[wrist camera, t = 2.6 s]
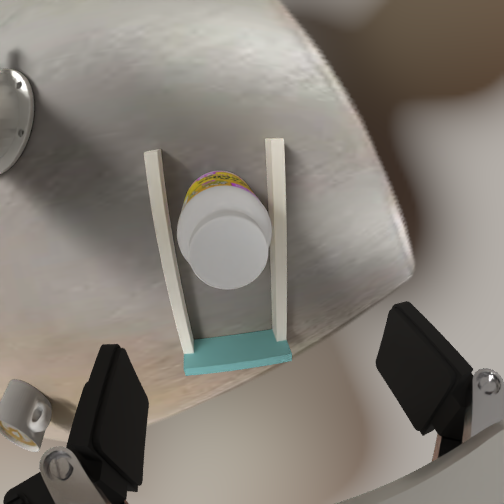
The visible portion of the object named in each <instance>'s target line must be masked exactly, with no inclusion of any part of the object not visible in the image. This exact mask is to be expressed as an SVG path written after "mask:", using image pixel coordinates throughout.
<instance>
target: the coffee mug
mask: <svg viewBox="0 0 504 504" xmlns="http://www.w3.org/2000/svg"><path fill="white" fill-rule="evenodd" d="M51 411H52V406H51V403H50V402H49V400H48V399H47V398H46V397H45V396H44V395H43V394H42V393H41V392H40V391H39V390H37V389H36V388H35V387H33V386H32V385H30V384H28V383H26V382H24V381H21V380H17V379H14V380H11V381H10V382H9V384H8V386H7V388H6V391H5V393H4V395H3V397H2V399H1V401H0V433H1V434H2V435H3V436H4V437H6V438H7V439H8V440H10V441H11V442H13V443H14V444H16V445H18V446H20V447H21V448H24V449H26V450H29V451H33V452H38V451H39V450H40V447H41V443H42V440H43V436H44V433H45V430H46V428H47V427H48V425H49V423H50V420H51V416H52V412H51Z"/></svg>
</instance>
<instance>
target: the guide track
mask: <svg viewBox="0 0 504 504" xmlns="http://www.w3.org/2000/svg"><path fill="white" fill-rule="evenodd" d="M265 149H266V169H267V190H268V213H269V217H270V221H271V226H272V237H271V242H270V268H271V301H272V329H270V330H263V331H257V332H250V333H243V334H236V335H229V336H221V337H213V338H204V339H195V340H194V339H193V334H192V330H191V326H190V321H189V317H188V312H187V308H186V303H185V299H184V294H183V289H182V284H181V279H180V274H179V268H178V263H177V258H176V252H175V246H174V240H173V235H172V228H171V222H170V216H169V209H168V202H167V195H166V187H165V180H164V171H163V163H162V154H161V149H157V150H151V151H147V152H144V159H145V168H146V175H147V183H148V190H149V196H150V203H151V209H152V215H153V221H154V227H155V232H156V238H157V243H158V248H159V253H160V258H161V263H162V268H163V273H164V277H165V282H166V286H167V290H168V295H169V299H170V303H171V307H172V311H173V315H174V319H175V323H176V327H177V330H178V334H179V338H180V341H181V345H182V349H183V352H184V371H185V374H186V376H188V375H199V374H208V373H217V372H225V371H233V370H240V369H247V368H253V367H260V366H266V365H272V364H277V363H283V362H288V361H292V353H291V350H290V348H289V345H288V343H287V340H286V332H287V224H286V182H285V153H284V139H283V138H265Z"/></svg>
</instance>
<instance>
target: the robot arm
mask: <svg viewBox="0 0 504 504" xmlns="http://www.w3.org/2000/svg"><path fill="white" fill-rule="evenodd" d="M33 117H34V98H33V92H32V88H31V85H30V83H29V81H28V80H27V78H26V77H25V76H24V75H23V74H22V73H20V72H19V71H17V70H12V69H1V70H0V174H2V173H4V172H5V171H7V170H9V169H10V168H11V167H12V166H13V165H14V164H15V163H16V161H17V160H18V158H19V157H20V156H21V154H22V152H23V150H24V148H25V146H26V144H27V141H28V139H29V136H30V132H31V128H32V124H33ZM376 367H377V369H378V371H379V372H380V373H381V375H382V377H383V378H384V380H385V381H386V383H387V385H388V386H389V388H390V389H391V391H392V392H393V394H394V396H395V397H396V398H397V400H398V402H399V404H400V405H401V407H402V408H403V410H404V412H405V413H406V415H407V416H408V418H409V420H410V421H411V423H412V425H413V426H414V428H415V429H416V430H417V431H420V432H421V434H422V435H425V434H427V433H429V432H431V431H433V430H434V429H435V430H436V431H437V439H436V444H435V449H434V454H433V458H432V462H431V463H429V464H427V465H425V466H424V467H422V468H420V469H418V470H416V471H414V472H412V473H410V474H408V475H406V476H404V477H402V478H400V479H398V480H395V481H393V482H391V483H389V484H386V485H384V486H382V487H379V488H377V489H375V490H372V491H369V492H367V493H364V494H361V495H359V496H356V497H353V498H350V499H347V500H344V501H341V502H338V503H335V504H504V382H503V379H502V378H501V376H500V375H499V374H498V373H497V372H495V371H494V370H491V369H484V368H483V369H480V370H478V371H477V372H475V374H474V376H473V375H472V374H471V372H472V371H473V368H472V367H471V366H470V365H469V364H468V363H467V361H466V360H465V359H464V358H463V357H462V356H461V355H460V354H459V353H458V351H456V349H455V348H454V347H453V346H452V345H451V344H450V343H449V342H448V341H447V340H446V339H445V338H444V337H443V335H441V333H440V332H439V331H438V330H437V329H436V328H435V327H434V326H433V325H432V324H431V323H430V322H429V321H428V320H427V319H426V318H425V317H424V316H423V315H422V314H421V313H420V312H419V311H418V310H417V309H416V308H415V307H414V306H413V305H412V304H411V303H410V302H407V301H406V302H402V303H399V304H395V305H394V306H393V307H392V309H391V310H390V311H389V314H388V318H387V322H386V326H385V330H384V334H383V338H382V341H381V345H380V349H379V352H378V356H377V359H376ZM148 408H149V402H148V398H147V395H146V393H145V391H144V389H143V387H142V385H141V383H140V381H139V379H138V377H137V375H136V373H135V370H134V368H133V366H132V364H131V362H130V359H129V357H128V355H127V352H126V350H125V349H124V348H121V347H120V346H119V345H118V344H106V345H102V346H101V347H100V350H99V353H98V356H97V358H96V361H95V364H94V367H93V370H92V372H91V375H90V378H89V381H88V382H87V383H86V384H85V386H84V388H83V391H82V394H81V397H80V401H79V404H78V407H77V410H76V414H75V417H74V421H73V424H72V428H71V431H70V435H69V439H68V443H67V447H66V448H65V447H53V448H50V449H49V450H47V451H46V452H45V453H44V454H43V456H42V457H41V460H40V468H39V469H40V472H39V473H38V474H36V475H34V476H32V477H31V478H29V479H27V480H26V481H24V482H23V483H21V484H19V485H17V486H15V487H14V488H12V489H10V490H9V491H8V492H7V493H6V495H5V497H4V504H129V503H128V502H127V501H126V496H127V491H133V492H137V491H138V485H139V486H140V485H141V484H142V480H143V463H144V448H145V437H146V426H147V417H148Z"/></svg>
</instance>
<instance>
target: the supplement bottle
mask: <svg viewBox="0 0 504 504" xmlns="http://www.w3.org/2000/svg"><path fill="white" fill-rule="evenodd" d="M271 237H272V226H271V221H270V217H269V214H268V212H267V210H266V209H265V207H264V205H263V204H262V203H261V201H260V200H259V199H258V198H257V196H256V195H255V194H254V193H253V191H252V190H251V189H250V187H249V186H248V185H247V184H246V183H245V181H244V180H243V179H241V178H240V177H239V176H237V175H235V174H233V173H231V172H227V171H212V172H208V173H206V174H204V175H202V176H200V177H199V178H198V179H196V180H195V181H194V182H193V183H192V185H191V186H190V188H189V190H188V192H187V194H186V197H185V200H184V203H183V207H182V210H181V214H180V217H179V221H178V226H177V240H178V245H179V248H180V250H181V253H182V255H183V256H184V258H185V259H186V260H187V262H188V263H189V264H190V265H191V267H192V270H193V271H194V273H195V274H196V276H197V277H198V278H199V279H200V280H201V281H203V282H204V283H205V284H207V285H209V286H211V287H214V288H217V289H224V290H230V289H237V288H241V287H243V286H246V285H248V284H249V283H251V282H253V281H254V280H255V279H256V278H257V277H258V276H259V275H260V274H261V272H262V271H263V269H264V268H265V266H266V263H267V259H268V249H269V246H270V242H271Z"/></svg>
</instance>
